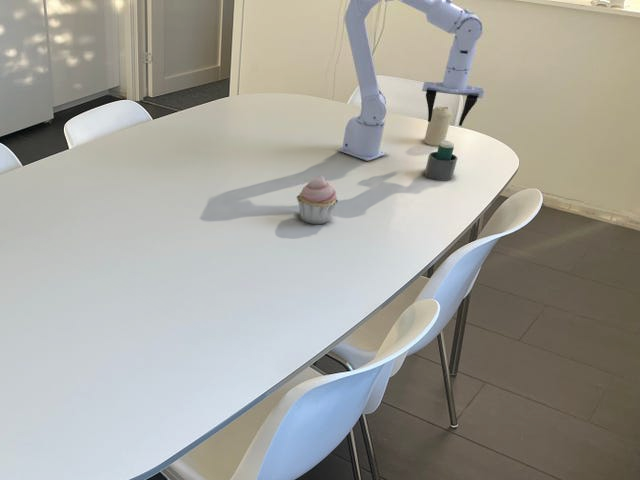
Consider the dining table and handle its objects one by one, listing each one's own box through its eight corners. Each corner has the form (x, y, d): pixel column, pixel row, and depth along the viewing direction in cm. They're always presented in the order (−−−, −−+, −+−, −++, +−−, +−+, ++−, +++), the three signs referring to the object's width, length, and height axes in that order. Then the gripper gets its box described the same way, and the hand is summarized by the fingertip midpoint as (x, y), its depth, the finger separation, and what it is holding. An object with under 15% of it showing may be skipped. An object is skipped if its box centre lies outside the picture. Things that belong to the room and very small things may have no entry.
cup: (419, 174, 187) (423, 155, 184) (434, 168, 191) (439, 149, 188) (442, 182, 183) (447, 163, 180) (457, 176, 187) (462, 157, 184)
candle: (441, 140, 209) (450, 104, 204) (446, 146, 205) (455, 110, 199) (422, 138, 210) (430, 103, 204) (426, 145, 205) (434, 109, 199)
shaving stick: (429, 173, 187) (436, 142, 182) (437, 170, 189) (444, 139, 184) (441, 177, 185) (449, 146, 180) (449, 174, 186) (457, 143, 182)
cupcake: (343, 218, 164) (351, 176, 158) (320, 231, 158) (328, 187, 153) (308, 206, 169) (315, 164, 163) (285, 218, 164) (291, 175, 158)
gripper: (426, 68, 180) (414, 123, 188) (489, 75, 176) (473, 131, 184) (429, 61, 185) (416, 115, 193) (489, 68, 181) (474, 123, 189)
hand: (444, 122), depth 189 cm, fingers open, 7 cm apart
